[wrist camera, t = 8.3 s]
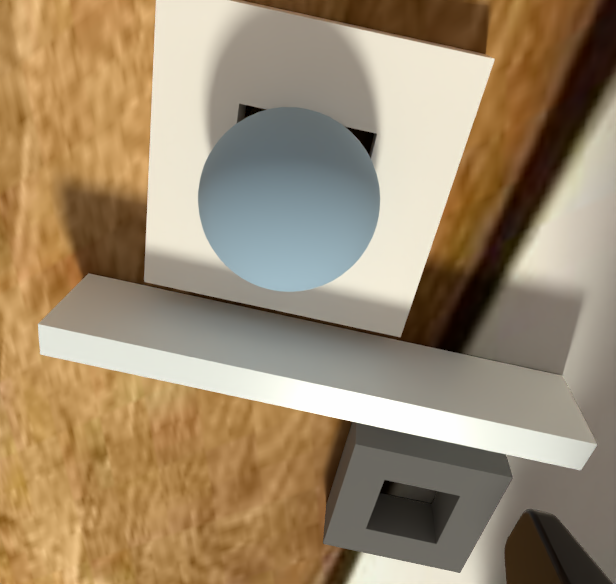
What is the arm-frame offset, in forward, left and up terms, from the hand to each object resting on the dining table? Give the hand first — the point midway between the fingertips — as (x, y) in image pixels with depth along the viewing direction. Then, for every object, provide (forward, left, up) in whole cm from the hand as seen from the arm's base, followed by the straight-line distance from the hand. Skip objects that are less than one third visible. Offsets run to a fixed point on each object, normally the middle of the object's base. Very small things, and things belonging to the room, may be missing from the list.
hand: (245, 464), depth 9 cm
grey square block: (-6, +11, -11) cm, 16 cm away
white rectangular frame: (+1, -1, -11) cm, 11 cm away
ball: (+1, -1, -8) cm, 8 cm away
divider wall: (-1, +5, -11) cm, 12 cm away
